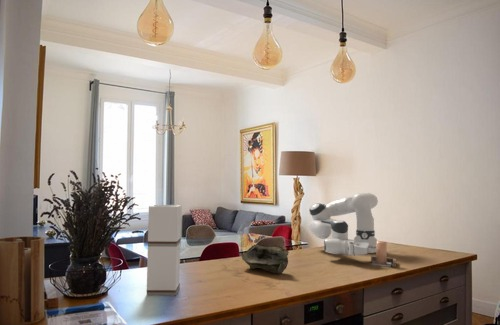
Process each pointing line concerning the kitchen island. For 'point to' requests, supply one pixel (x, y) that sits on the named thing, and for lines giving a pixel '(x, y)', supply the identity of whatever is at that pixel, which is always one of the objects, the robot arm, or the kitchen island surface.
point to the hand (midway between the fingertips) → (377, 249)
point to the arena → (389, 261)
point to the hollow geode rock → (266, 258)
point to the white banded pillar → (164, 250)
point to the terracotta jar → (381, 252)
